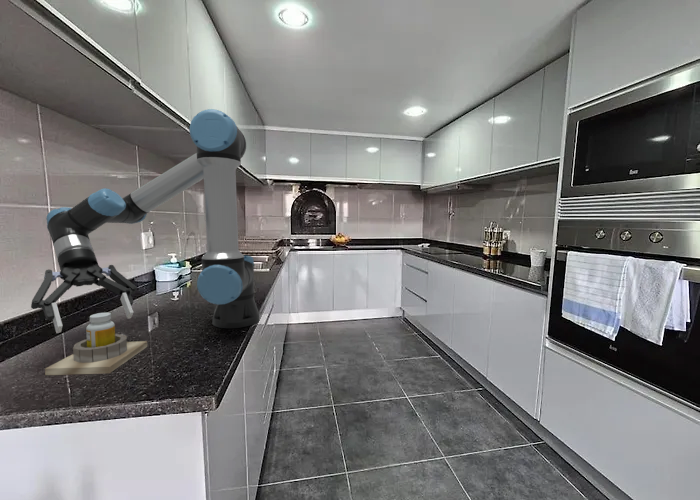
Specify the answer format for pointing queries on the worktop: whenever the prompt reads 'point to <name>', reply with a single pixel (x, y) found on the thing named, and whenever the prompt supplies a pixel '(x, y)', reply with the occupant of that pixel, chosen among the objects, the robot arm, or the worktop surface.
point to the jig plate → (95, 366)
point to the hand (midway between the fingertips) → (97, 322)
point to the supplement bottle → (100, 330)
